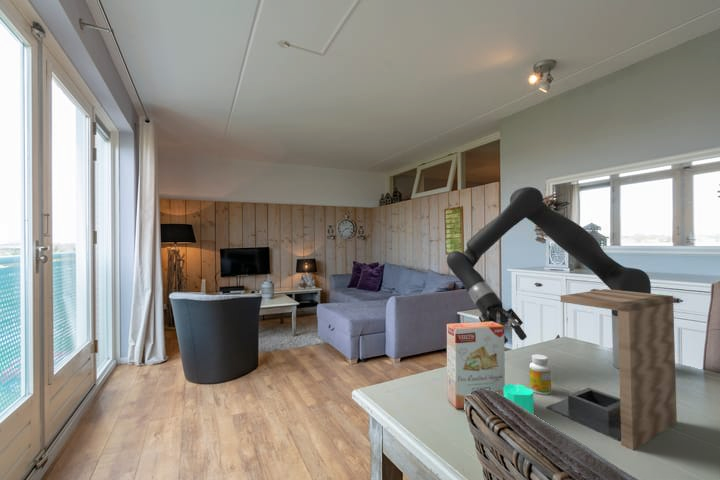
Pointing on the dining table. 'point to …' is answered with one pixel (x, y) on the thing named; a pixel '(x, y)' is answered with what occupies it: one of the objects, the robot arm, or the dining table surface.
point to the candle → (520, 396)
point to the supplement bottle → (540, 375)
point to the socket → (592, 411)
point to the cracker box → (474, 359)
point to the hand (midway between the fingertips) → (515, 340)
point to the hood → (641, 360)
